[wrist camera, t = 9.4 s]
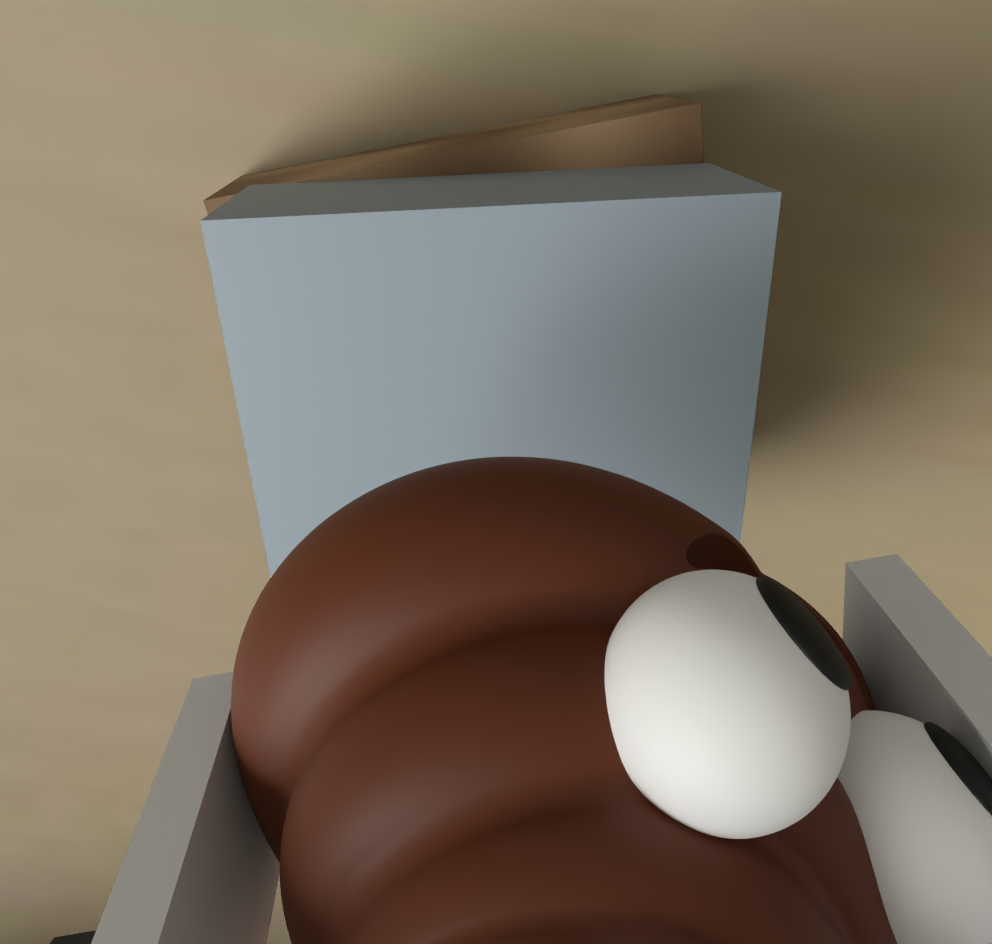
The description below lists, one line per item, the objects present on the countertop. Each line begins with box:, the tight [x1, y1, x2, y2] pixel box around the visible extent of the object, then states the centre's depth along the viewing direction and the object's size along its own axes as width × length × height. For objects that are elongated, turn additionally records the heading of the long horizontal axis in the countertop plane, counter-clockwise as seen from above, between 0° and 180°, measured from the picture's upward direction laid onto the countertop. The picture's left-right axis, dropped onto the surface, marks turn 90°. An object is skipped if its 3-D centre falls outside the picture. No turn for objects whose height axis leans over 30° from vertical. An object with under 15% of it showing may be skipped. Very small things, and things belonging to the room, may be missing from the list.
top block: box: [201, 163, 782, 577], centre depth 22 cm, size 12×12×5 cm
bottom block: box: [204, 94, 704, 215], centre depth 26 cm, size 13×13×5 cm
